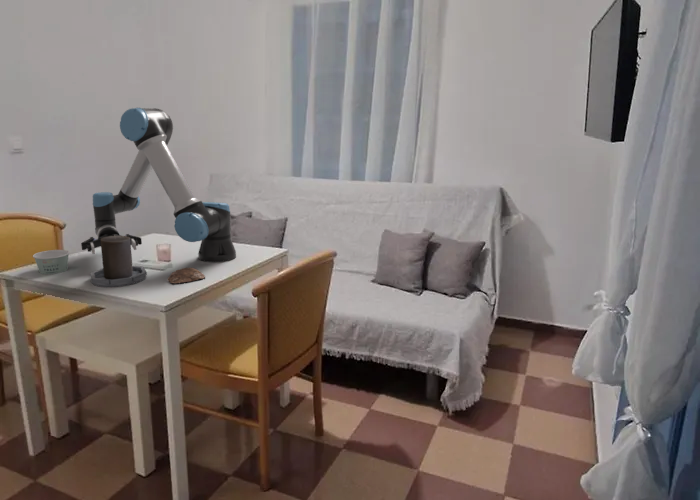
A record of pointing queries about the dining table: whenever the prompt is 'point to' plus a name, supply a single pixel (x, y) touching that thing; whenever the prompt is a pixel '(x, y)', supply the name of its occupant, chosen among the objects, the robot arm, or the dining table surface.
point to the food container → (52, 261)
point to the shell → (185, 276)
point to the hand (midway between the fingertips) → (114, 248)
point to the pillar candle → (116, 257)
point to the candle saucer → (99, 279)
